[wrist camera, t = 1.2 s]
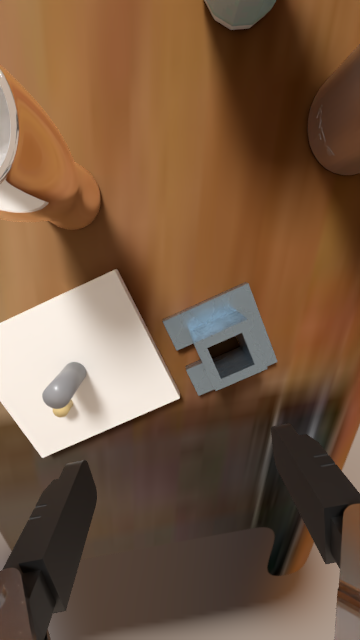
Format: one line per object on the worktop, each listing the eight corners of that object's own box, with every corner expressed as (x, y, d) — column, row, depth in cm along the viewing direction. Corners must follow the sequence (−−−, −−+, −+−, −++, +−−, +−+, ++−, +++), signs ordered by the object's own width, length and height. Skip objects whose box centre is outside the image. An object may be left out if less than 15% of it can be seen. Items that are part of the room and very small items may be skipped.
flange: (245, 282, 28) (262, 287, 23) (273, 358, 30) (294, 378, 25) (162, 319, 28) (162, 332, 23) (197, 391, 31) (203, 417, 26)
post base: (117, 268, 26) (102, 273, 20) (179, 391, 30) (183, 426, 24) (-32, 338, 27) (-91, 363, 21) (47, 448, 31) (18, 497, 25)
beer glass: (106, 161, 24) (16, 15, 9) (105, 237, 26) (28, 214, 11) (29, 152, 23) (-190, -16, 9) (34, 231, 25) (-144, 198, 11)
